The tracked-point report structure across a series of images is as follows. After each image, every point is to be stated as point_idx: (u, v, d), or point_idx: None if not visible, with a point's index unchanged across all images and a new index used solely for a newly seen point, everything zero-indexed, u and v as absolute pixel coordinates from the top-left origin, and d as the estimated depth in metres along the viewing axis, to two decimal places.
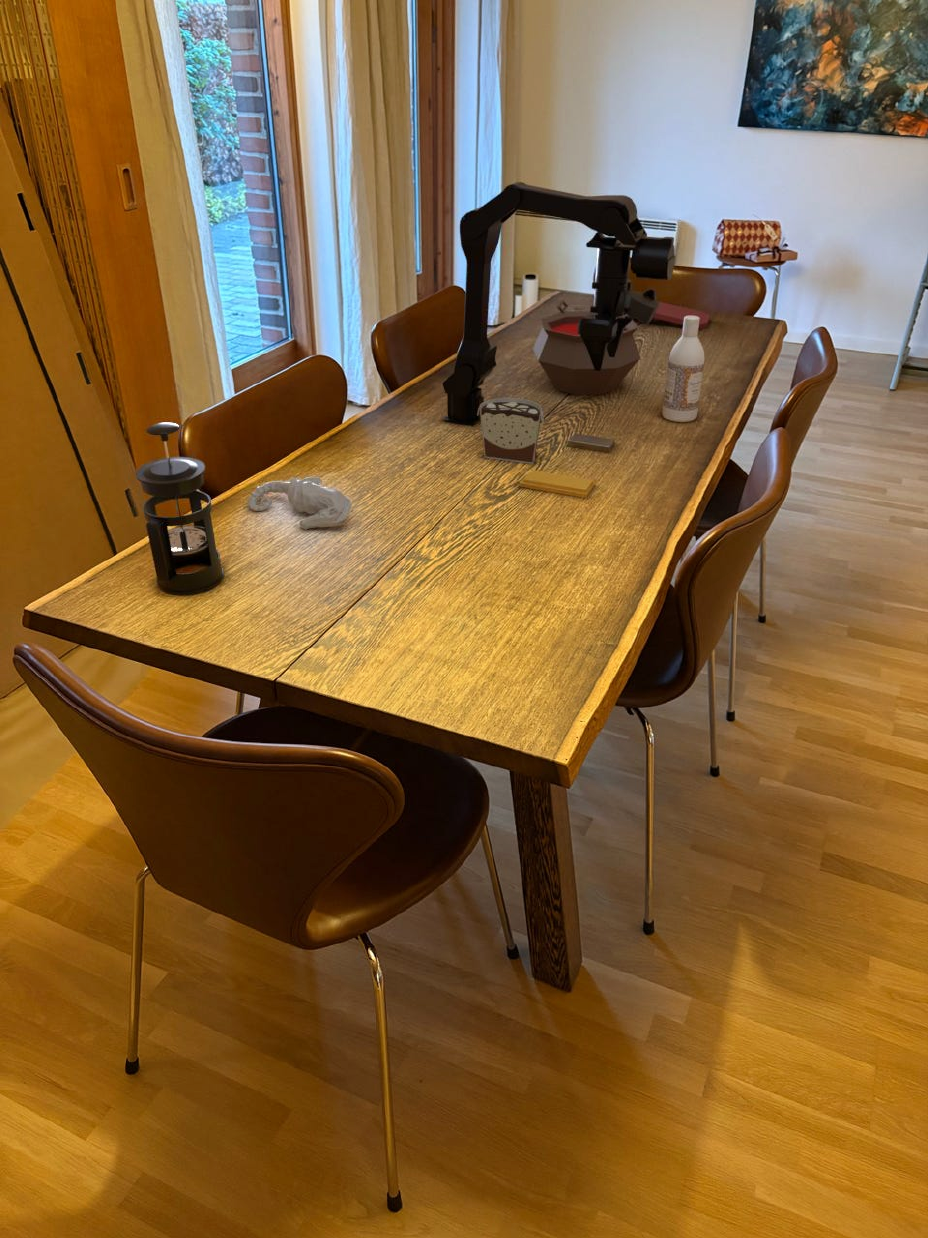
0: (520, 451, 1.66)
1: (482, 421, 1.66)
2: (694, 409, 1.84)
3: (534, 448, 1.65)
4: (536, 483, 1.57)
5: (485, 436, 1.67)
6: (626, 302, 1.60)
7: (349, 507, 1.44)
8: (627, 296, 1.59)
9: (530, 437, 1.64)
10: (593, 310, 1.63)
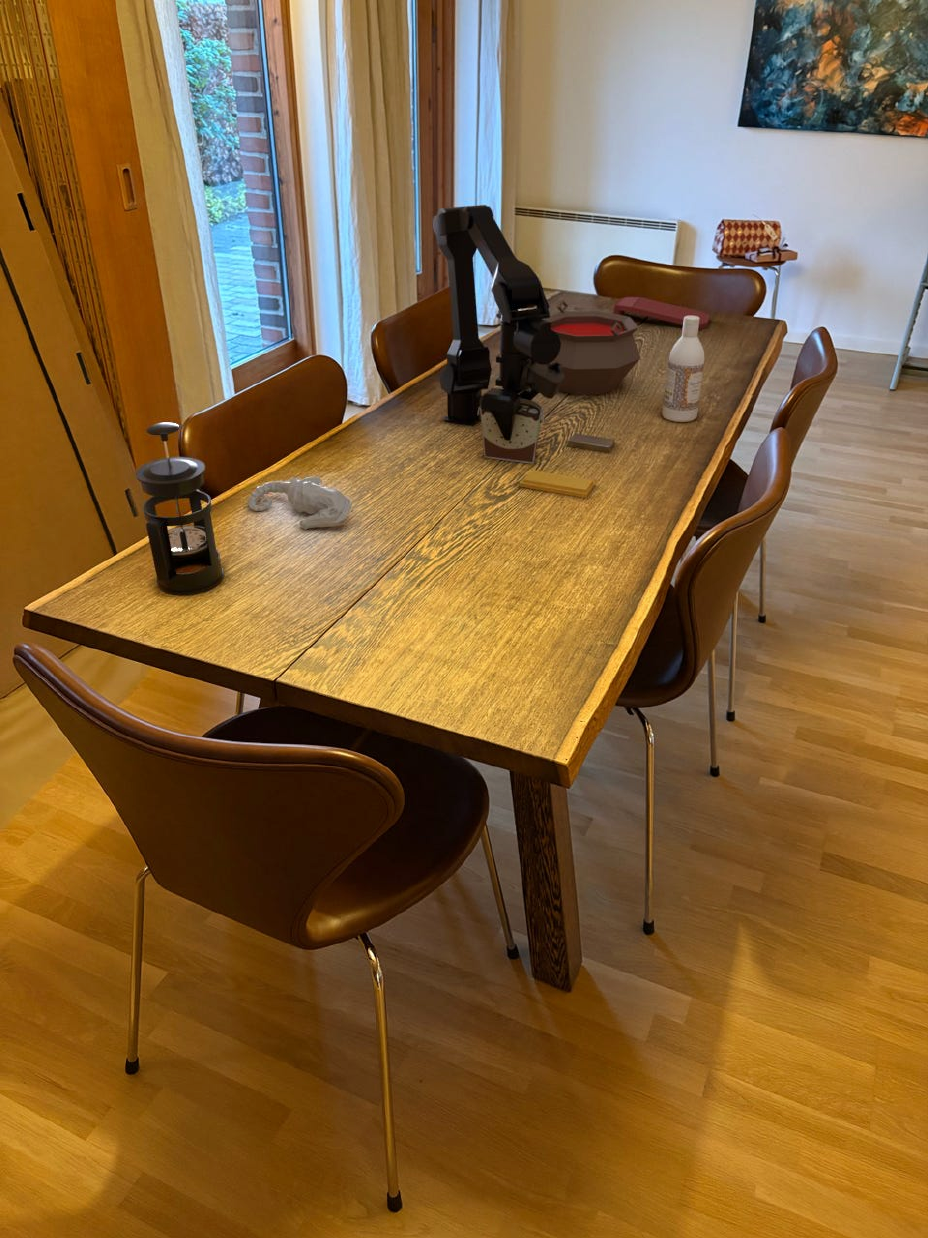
0: (521, 451, 1.66)
1: (482, 421, 1.66)
2: (694, 409, 1.84)
3: (534, 448, 1.65)
4: (536, 483, 1.57)
5: (485, 436, 1.67)
6: (529, 377, 1.59)
7: (349, 507, 1.44)
8: (530, 371, 1.58)
9: (530, 437, 1.64)
10: (498, 383, 1.62)
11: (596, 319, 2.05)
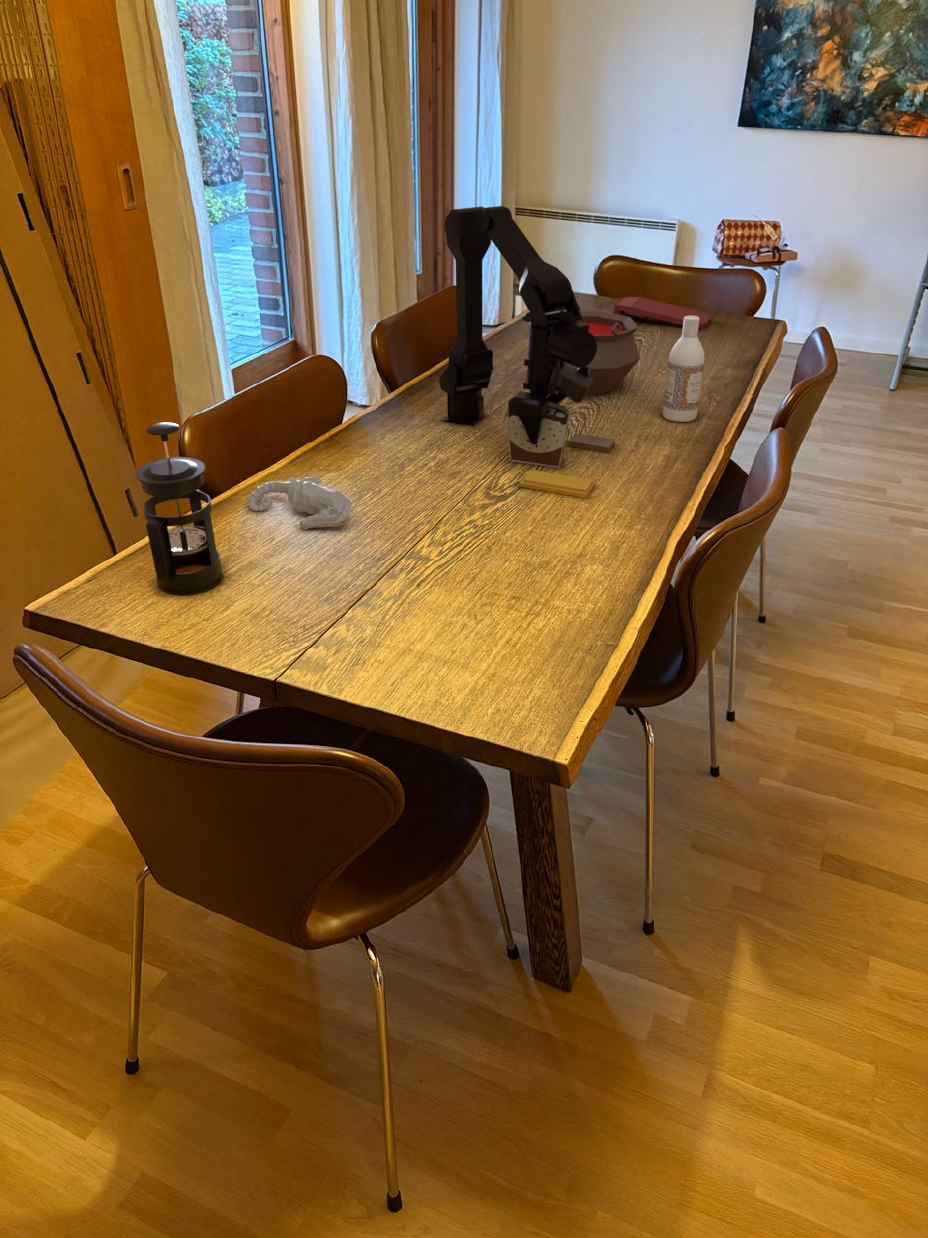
0: (547, 455, 1.65)
1: (509, 424, 1.64)
2: (694, 409, 1.84)
3: (561, 452, 1.63)
4: (536, 483, 1.57)
5: (511, 439, 1.65)
6: (558, 380, 1.57)
7: (349, 507, 1.44)
8: (559, 374, 1.57)
9: (557, 441, 1.63)
10: (526, 386, 1.60)
11: (596, 319, 2.05)
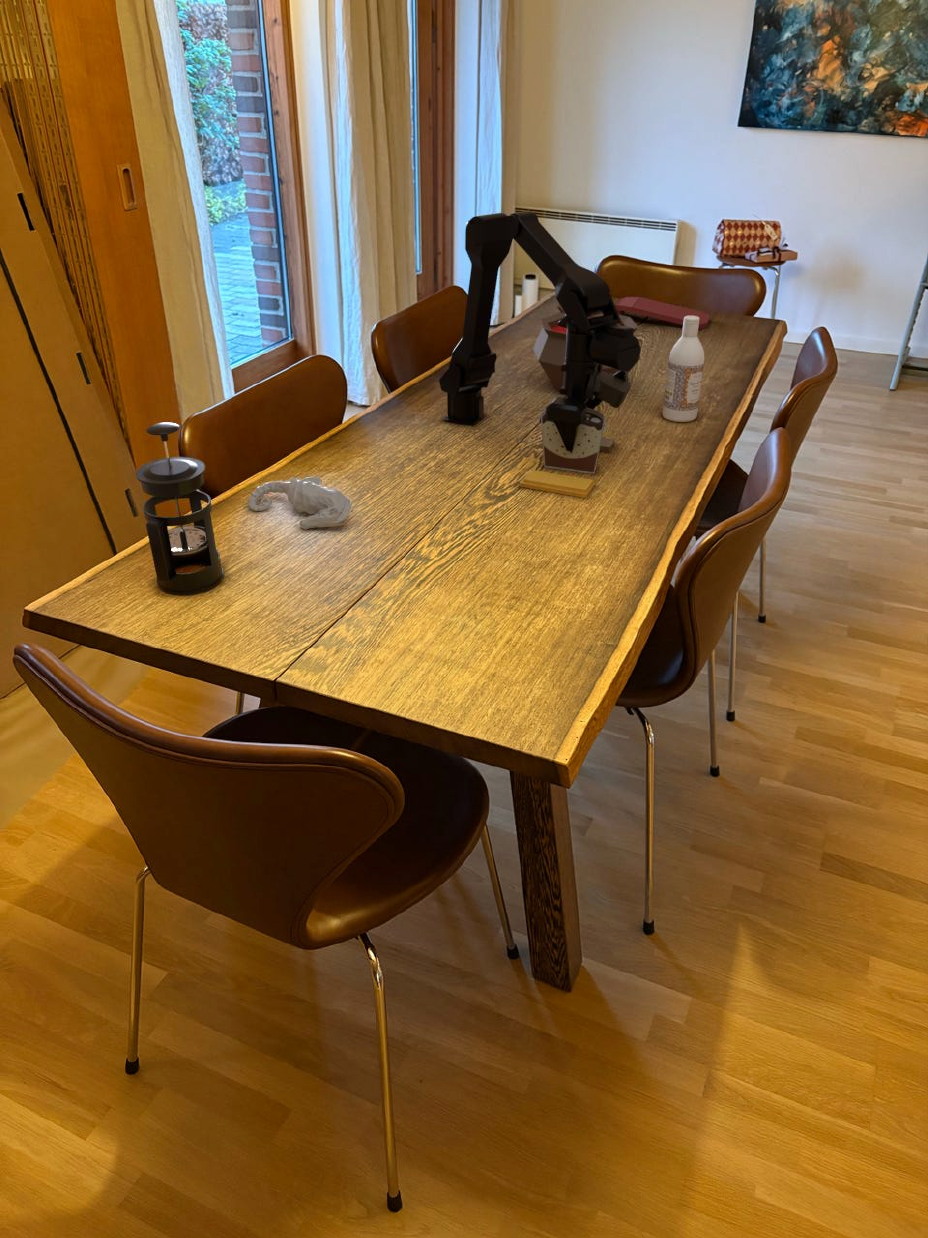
0: (582, 460, 1.62)
1: (543, 430, 1.62)
2: (694, 409, 1.84)
3: (596, 458, 1.61)
4: (536, 483, 1.57)
5: (545, 445, 1.63)
6: (596, 385, 1.55)
7: (349, 507, 1.44)
8: (597, 379, 1.54)
9: (592, 447, 1.60)
10: (562, 391, 1.58)
11: None
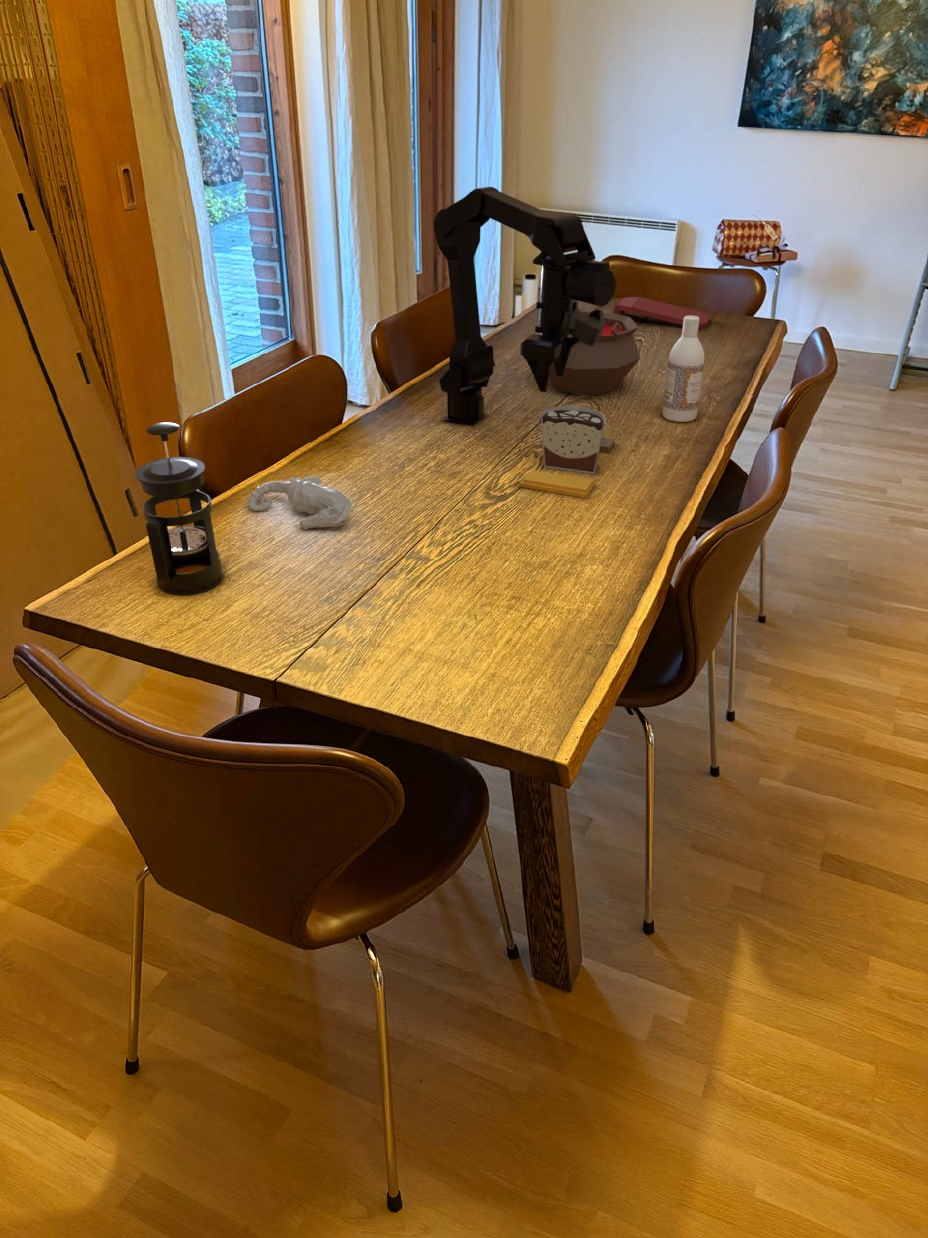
0: (582, 460, 1.62)
1: (543, 430, 1.62)
2: (694, 409, 1.84)
3: (596, 458, 1.61)
4: (536, 483, 1.57)
5: (545, 445, 1.63)
6: (571, 323, 1.56)
7: (349, 507, 1.44)
8: (572, 317, 1.56)
9: (592, 447, 1.60)
10: (538, 329, 1.59)
11: None
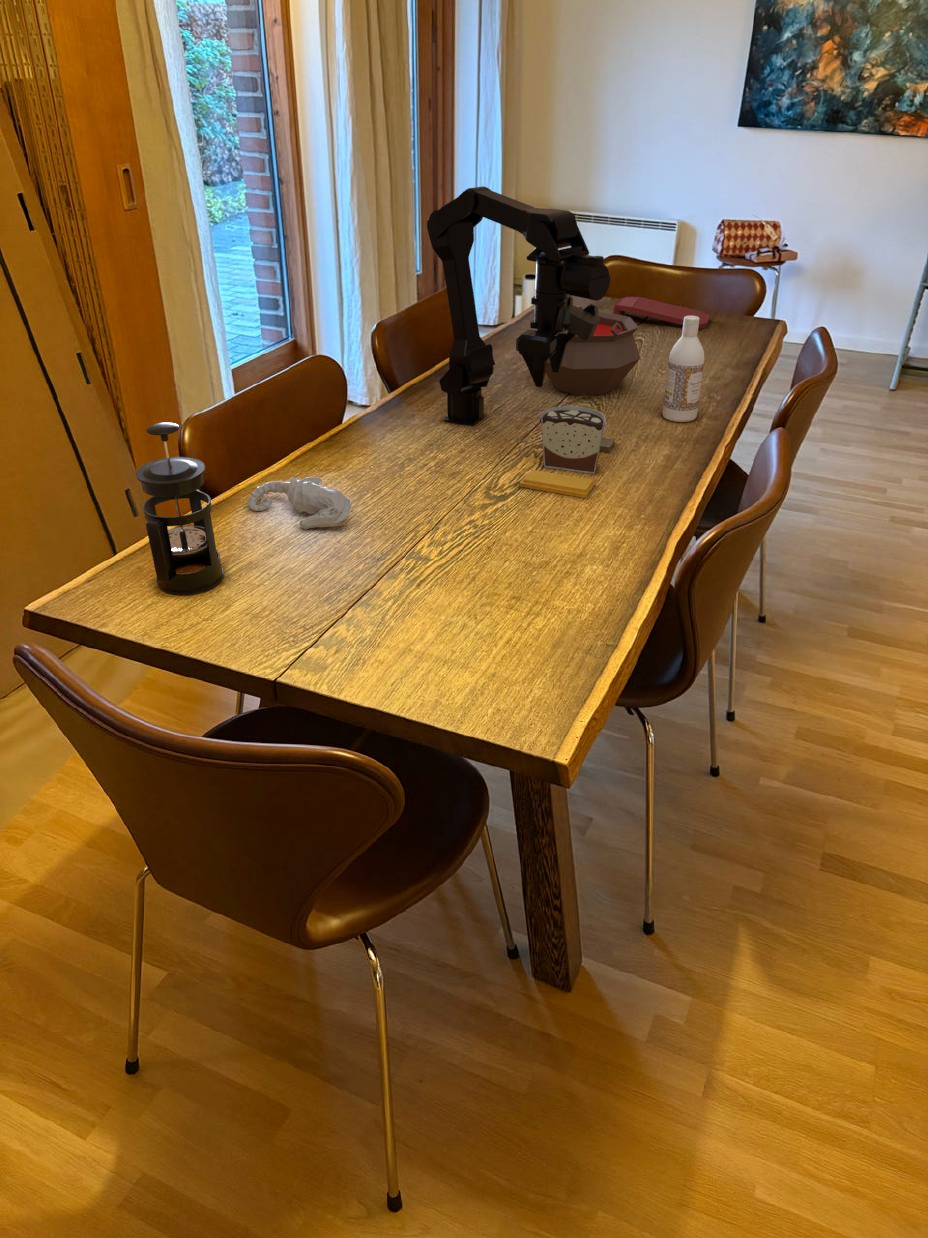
0: (582, 460, 1.62)
1: (543, 430, 1.62)
2: (694, 409, 1.84)
3: (596, 458, 1.61)
4: (536, 483, 1.57)
5: (545, 445, 1.63)
6: (565, 318, 1.57)
7: (349, 507, 1.44)
8: (566, 312, 1.57)
9: (592, 447, 1.60)
10: (533, 325, 1.60)
11: None
